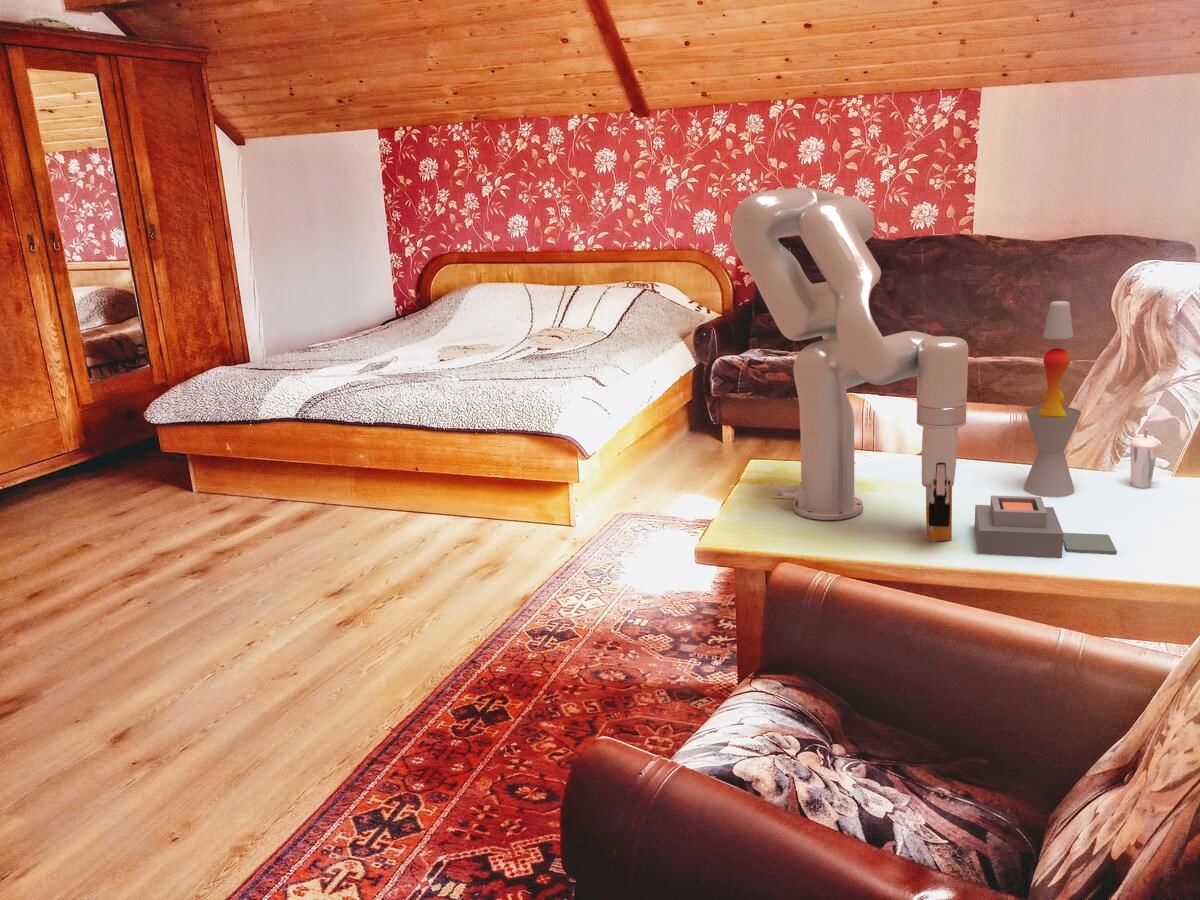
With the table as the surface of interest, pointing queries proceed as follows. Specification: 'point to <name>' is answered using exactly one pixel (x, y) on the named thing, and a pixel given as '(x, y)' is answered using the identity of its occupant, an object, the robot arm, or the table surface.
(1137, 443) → the milkshake
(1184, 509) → the table surface
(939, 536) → the supplement box
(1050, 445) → the lava lamp
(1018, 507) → the breaker button
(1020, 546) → the frame
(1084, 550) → the rest mat
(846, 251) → the robot arm
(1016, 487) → the table surface
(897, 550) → the table surface
